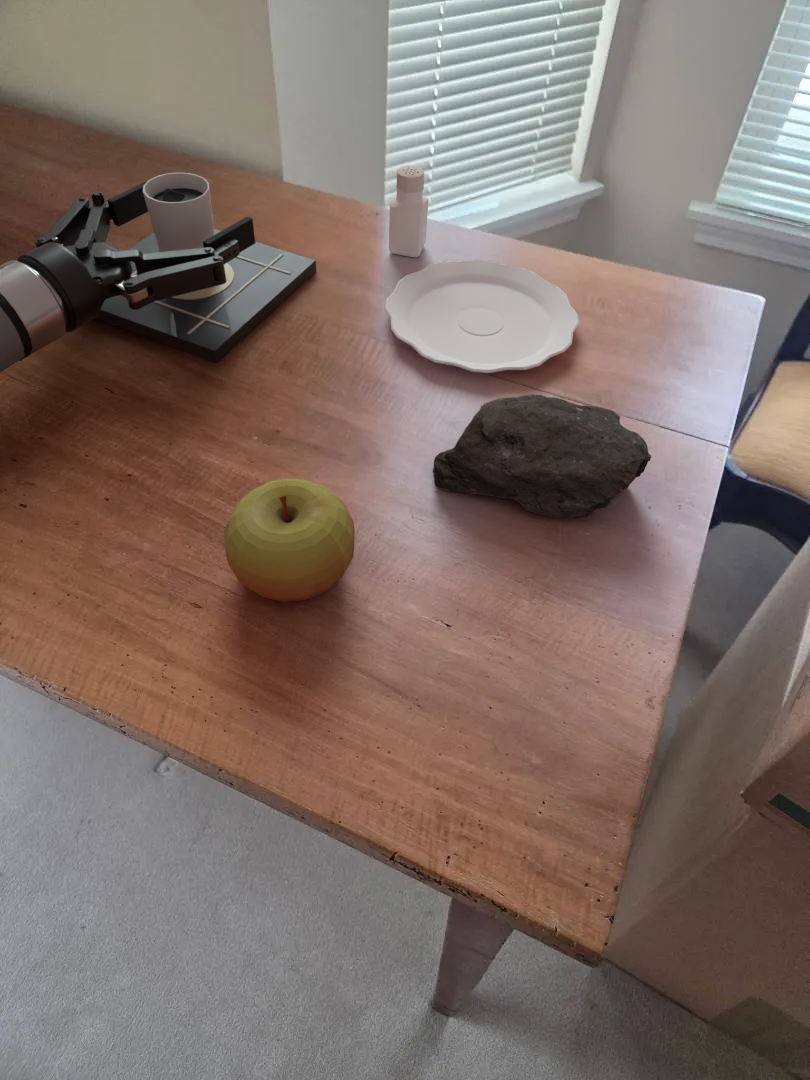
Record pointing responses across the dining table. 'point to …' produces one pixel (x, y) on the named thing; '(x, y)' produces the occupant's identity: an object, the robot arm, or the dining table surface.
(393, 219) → the salt shaker
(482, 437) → the stone
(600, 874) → the dining table surface
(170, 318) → the board
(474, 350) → the plate
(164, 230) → the white cup
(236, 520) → the apple
